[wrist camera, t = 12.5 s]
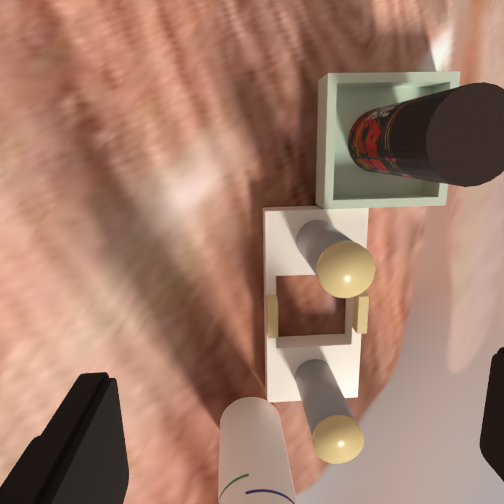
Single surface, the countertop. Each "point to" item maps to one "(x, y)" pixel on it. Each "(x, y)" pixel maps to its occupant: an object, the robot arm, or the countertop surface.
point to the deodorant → (435, 136)
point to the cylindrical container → (253, 455)
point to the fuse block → (328, 345)
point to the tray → (337, 132)
